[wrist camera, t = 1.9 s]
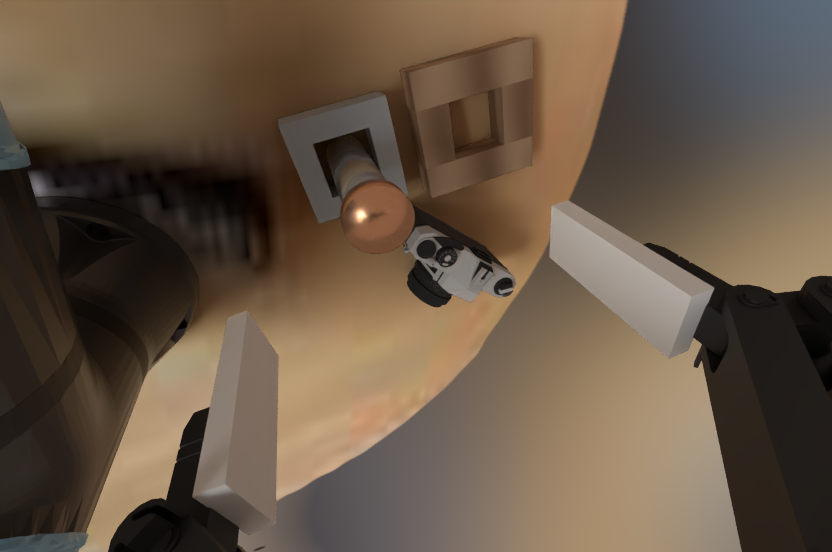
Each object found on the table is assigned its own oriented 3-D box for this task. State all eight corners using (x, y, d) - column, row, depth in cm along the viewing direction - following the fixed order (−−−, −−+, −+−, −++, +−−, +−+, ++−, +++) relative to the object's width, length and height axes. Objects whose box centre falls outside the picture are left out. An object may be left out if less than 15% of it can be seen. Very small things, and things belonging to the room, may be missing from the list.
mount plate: (316, 212, 32) (319, 223, 30) (278, 118, 27) (278, 125, 25) (400, 185, 33) (408, 194, 31) (378, 90, 28) (385, 95, 26)
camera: (359, 257, 36) (385, 317, 29) (399, 191, 33) (437, 240, 26) (451, 289, 43) (488, 341, 37) (490, 237, 41) (537, 284, 34)
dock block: (422, 188, 34) (431, 198, 32) (399, 69, 27) (408, 72, 25) (518, 157, 35) (532, 165, 33) (515, 37, 29) (533, 38, 27)
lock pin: (330, 184, 31) (355, 262, 20) (313, 137, 28) (332, 200, 18) (374, 170, 31) (420, 240, 21) (361, 124, 29) (406, 176, 18)
